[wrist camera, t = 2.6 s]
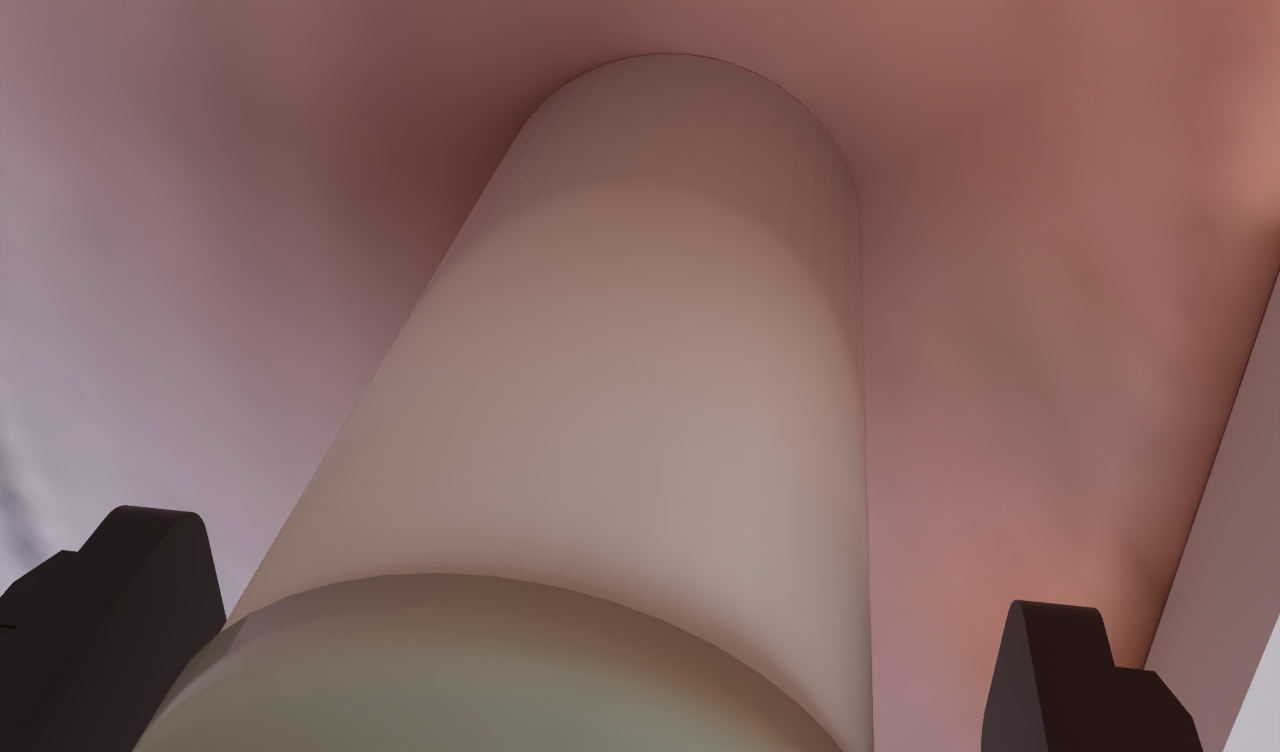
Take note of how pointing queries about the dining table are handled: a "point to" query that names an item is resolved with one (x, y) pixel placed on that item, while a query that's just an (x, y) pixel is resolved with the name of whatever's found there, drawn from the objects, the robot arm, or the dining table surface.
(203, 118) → the dining table surface
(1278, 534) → the lane
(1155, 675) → the robot arm
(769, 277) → the jar
